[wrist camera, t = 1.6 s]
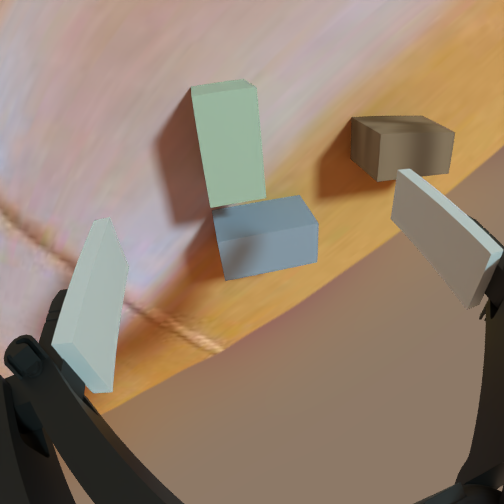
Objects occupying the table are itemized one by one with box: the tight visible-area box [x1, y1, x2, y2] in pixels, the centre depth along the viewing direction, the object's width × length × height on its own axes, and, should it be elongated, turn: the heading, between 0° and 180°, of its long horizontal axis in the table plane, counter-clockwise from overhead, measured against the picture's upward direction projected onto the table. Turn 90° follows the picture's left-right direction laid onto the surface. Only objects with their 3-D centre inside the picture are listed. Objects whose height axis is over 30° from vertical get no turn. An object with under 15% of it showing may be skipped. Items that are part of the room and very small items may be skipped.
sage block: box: [191, 79, 266, 208], centre depth 22 cm, size 8×4×5 cm, turn 5°
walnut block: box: [351, 116, 455, 182], centre depth 25 cm, size 8×4×5 cm, turn 96°
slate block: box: [212, 195, 318, 281], centre depth 28 cm, size 8×4×5 cm, turn 96°
